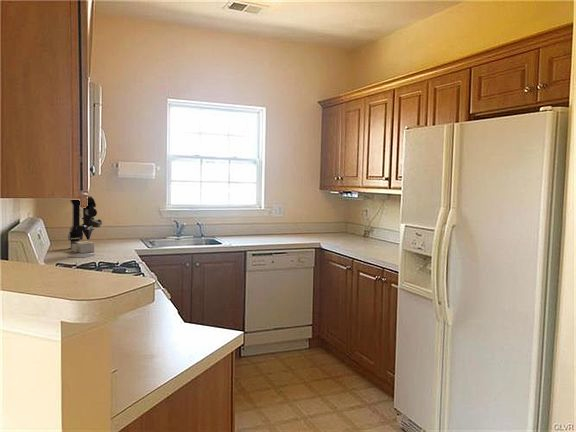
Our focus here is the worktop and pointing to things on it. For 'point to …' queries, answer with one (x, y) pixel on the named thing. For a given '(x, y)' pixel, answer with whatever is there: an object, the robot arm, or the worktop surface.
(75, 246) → the coffee box
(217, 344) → the worktop surface
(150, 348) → the worktop surface
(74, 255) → the mat
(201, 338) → the worktop surface
